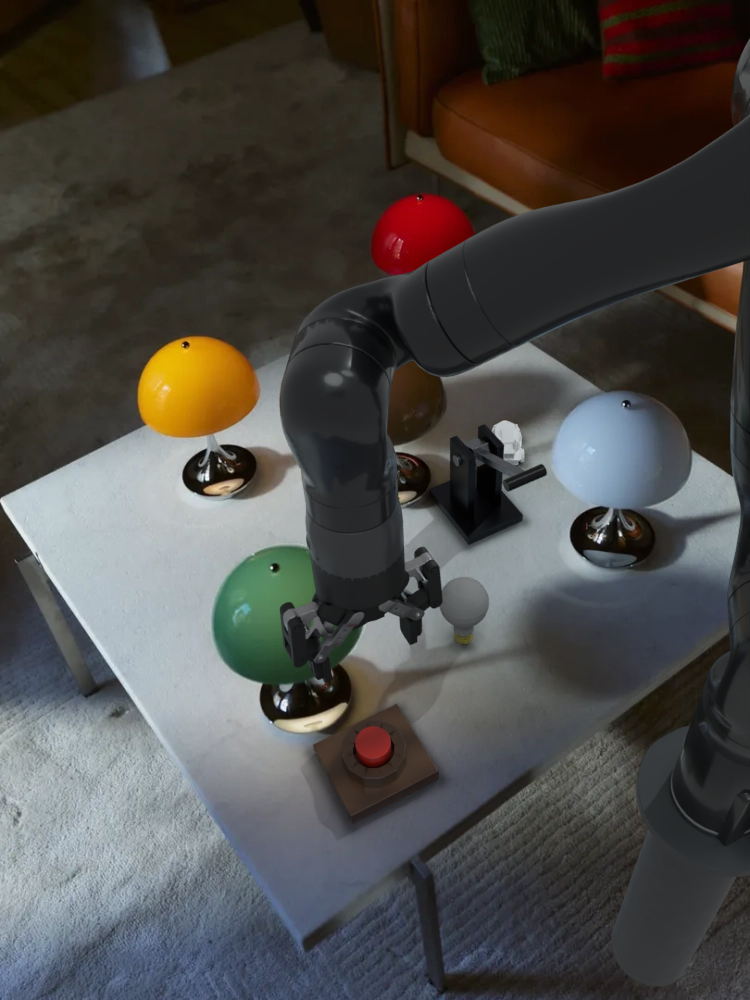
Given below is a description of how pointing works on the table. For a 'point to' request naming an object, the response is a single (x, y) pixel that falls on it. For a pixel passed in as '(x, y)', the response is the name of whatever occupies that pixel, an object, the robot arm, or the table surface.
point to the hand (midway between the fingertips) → (367, 655)
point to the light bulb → (464, 606)
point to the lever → (504, 466)
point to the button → (373, 746)
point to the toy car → (510, 441)
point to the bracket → (475, 492)
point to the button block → (382, 784)
